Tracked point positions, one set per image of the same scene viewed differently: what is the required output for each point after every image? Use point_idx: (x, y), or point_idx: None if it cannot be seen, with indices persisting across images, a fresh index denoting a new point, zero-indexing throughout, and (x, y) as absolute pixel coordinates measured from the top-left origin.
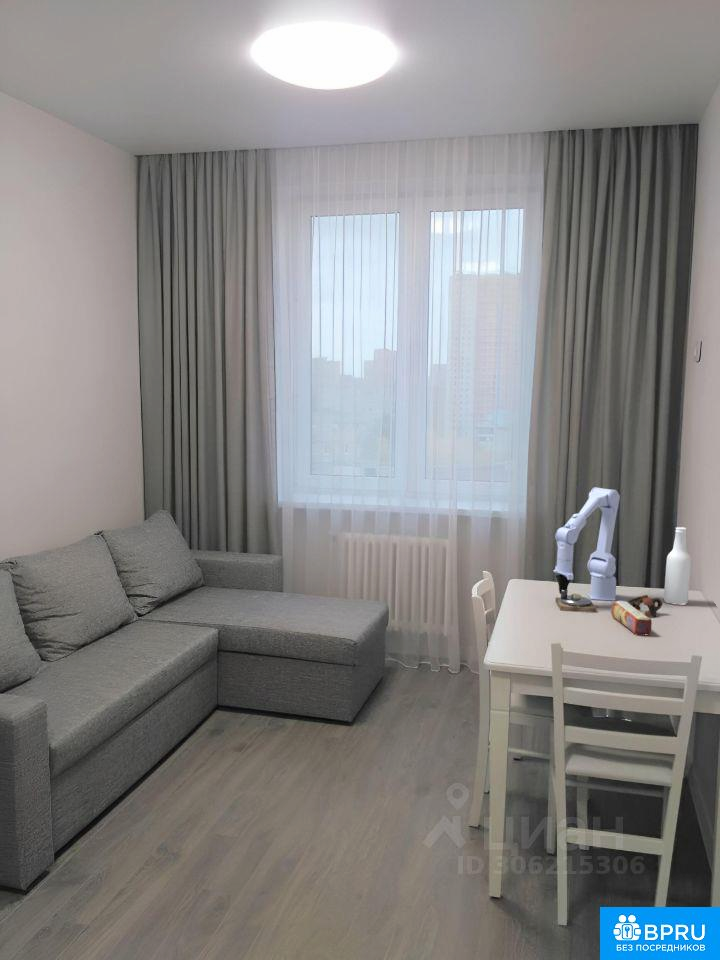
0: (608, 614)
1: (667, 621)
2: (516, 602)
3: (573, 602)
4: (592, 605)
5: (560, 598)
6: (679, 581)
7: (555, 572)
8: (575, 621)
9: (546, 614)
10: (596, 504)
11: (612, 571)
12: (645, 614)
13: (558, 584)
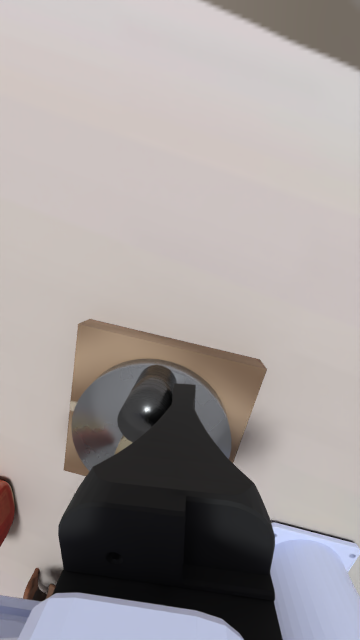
0: (53, 483)
1: (6, 595)
2: (253, 87)
3: (79, 402)
4: None
5: (241, 386)
6: None
7: (45, 603)
8: None
9: (4, 214)
10: None
11: None
12: (29, 581)
13: (197, 421)
